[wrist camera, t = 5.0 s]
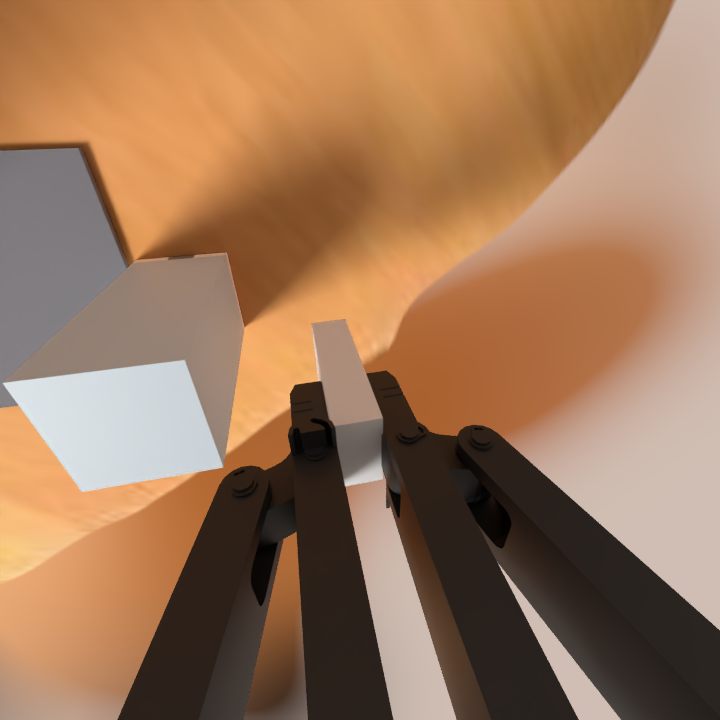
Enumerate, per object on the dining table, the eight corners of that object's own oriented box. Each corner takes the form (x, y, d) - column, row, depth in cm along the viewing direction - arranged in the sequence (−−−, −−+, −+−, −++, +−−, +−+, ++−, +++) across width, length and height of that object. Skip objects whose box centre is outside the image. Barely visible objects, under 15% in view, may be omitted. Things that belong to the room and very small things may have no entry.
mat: (-255, 160, 15) (-267, 160, 15) (81, 147, 17) (77, 147, 17) (-41, 409, 23) (-45, 413, 22) (174, 380, 25) (172, 384, 24)
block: (136, 259, 20) (2, 383, 10) (226, 252, 21) (184, 360, 11) (165, 336, 23) (82, 491, 13) (244, 327, 24) (223, 467, 14)
